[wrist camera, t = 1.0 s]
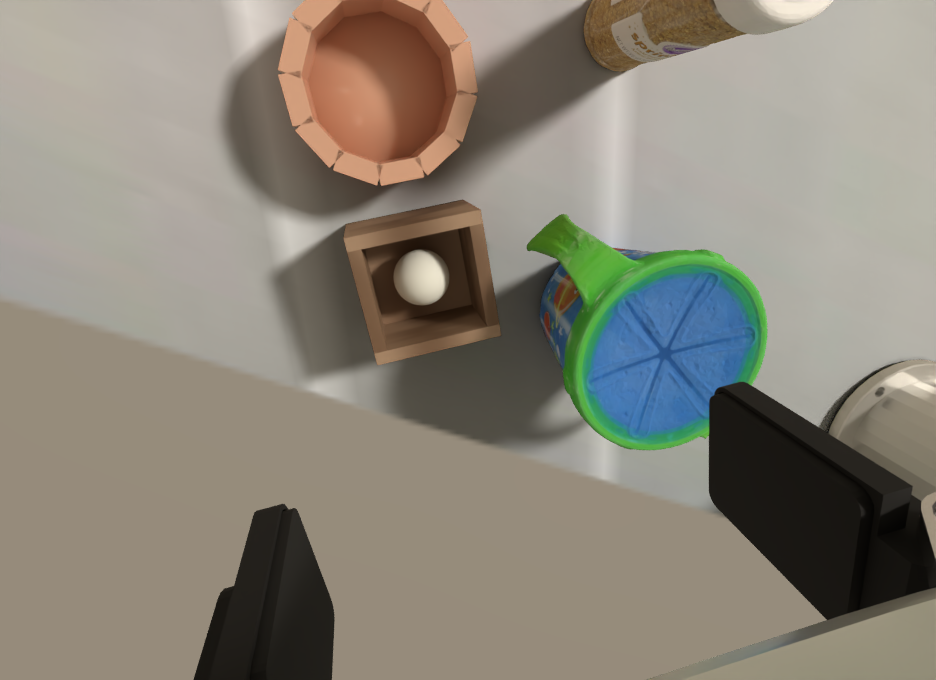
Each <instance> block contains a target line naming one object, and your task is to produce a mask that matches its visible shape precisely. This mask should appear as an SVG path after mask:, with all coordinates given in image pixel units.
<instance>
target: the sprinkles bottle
mask: <svg viewBox="0 0 936 680" xmlns="http://www.w3.org/2000/svg"><path fill="white" fill-rule="evenodd" d="M832 2H833V0H592V2H591V4H590V6H589V8H588V11H587V13H586V18H585V24H584V36H585V42H586V45H587V47H588V49H589V51H590V53H591V55H592V57H593V58H594V59H595V60H596V62H597V63H598V64H600V65H601V66H603V67H605V68H608V69H609V70H613V71H621V72H623V71H627V70H630V69H633V68H635V67H637V66H638V65H640V64H643V63H647V62H654V61H659V60H662V59H665V58H669V57H673V56H676V55H679V54H683V53H686V52H690V51H693V50H697V49H700V48H704V47H707V46H708V45H710V44H712V43H717V42H720V41H723V40H727V39H730V38H733V37H736V36H740V35H744V34H756V35H758V34H767V33H771V32H775V31H779V30H782V29H786V28H789V27H792V26H796V25H799V24H802V23H804V22H806V21H808V20H810V19H812V18H814V17H815V16H817V15H818V14H819V13H821V12H822V11H823V10H825V9H826V8H827V7H828V6H829V5H830V4H831V3H832Z"/></svg>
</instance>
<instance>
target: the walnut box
mask: <svg viewBox="0 0 936 680" xmlns="http://www.w3.org/2000/svg"><path fill="white" fill-rule="evenodd" d="M343 239H344V242H345V246H346V250H347V254H348V257H349V261H350V265H351V269H352V272H353V276H354V280H355V283H356V287H357V291H358V295H359V298H360V302H361V306H362V310H363V313H364V317H365V321H366V325H367V328H368V332H369V336H370V339H371V343H372V347H373V351H374V354H375V358H376V362H377V365H381V364H385V363H389V362H394V361H398V360H402V359H406V358H410V357H414V356H419V355H423V354H427V353H431V352H435V351H440V350H444V349H448V348H452V347H456V346H460V345H465V344H469V343H473V342H477V341H481V340H486V339H490V338H494V337H498V336H501V331H500V325H499V318H498V312H497V306H496V300H495V294H494V288H493V282H492V276H491V270H490V264H489V258H488V252H487V245H486V239H485V233H484V227H483V221H482V215H481V210H480V209H479V208H477V207H475V206H473V205H472V204H470V203H468V202H466V201H464V200H459V201H454V202H449V203H445V204H440V205H435V206H430V207H425V208H421V209H416V210H411V211H406V212H401V213H397V214H392V215H387V216H382V217H377V218H372V219H368V220H363V221H358V222H353V223H348V224H346V227H345V233H344V238H343ZM418 249H425V250H430V251H432V252H434V253H436V254H437V255H439V256H440V257H441V258H442V259H443V260H444V262H445V263H446V265H447V267H448V270H449V285H448V288H447V290H446V292H445V294H444V295H443V296H442V297H441V298H440V299H439V300H438V301H436V302H434V303H432V304H429V305H415V304H412V303H409V302H407V301H406V300H405V299H403V298H402V297H401V296H400V295H399V293H398V292H397V290H396V288H395V285H394V277H393V276H394V270H395V267H396V264H397V263H398V261H399V260H400V259H401V258H402V256H404V255H405V254H406V253H408V252H410V251H413V250H418Z"/></svg>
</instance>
